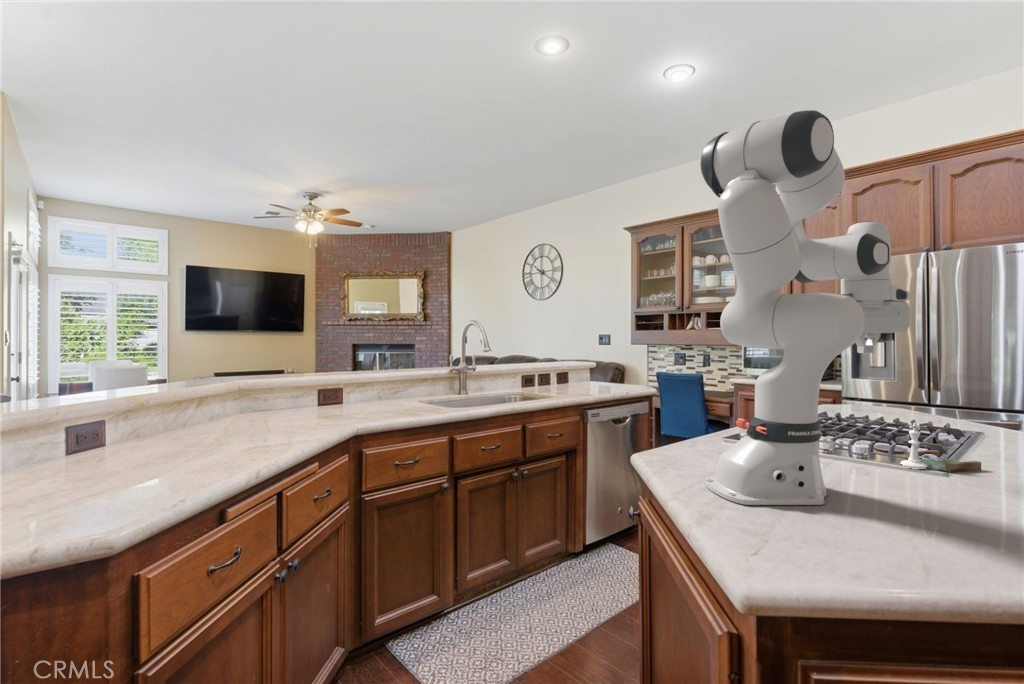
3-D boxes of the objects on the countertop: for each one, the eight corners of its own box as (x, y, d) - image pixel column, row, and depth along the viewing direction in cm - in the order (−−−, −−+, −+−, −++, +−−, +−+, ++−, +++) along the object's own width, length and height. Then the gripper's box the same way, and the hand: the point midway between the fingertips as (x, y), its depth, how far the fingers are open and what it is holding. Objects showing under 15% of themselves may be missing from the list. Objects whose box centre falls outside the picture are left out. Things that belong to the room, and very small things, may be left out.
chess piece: (933, 470, 107) (934, 425, 106) (908, 469, 108) (908, 425, 107) (919, 464, 111) (920, 421, 111) (895, 463, 112) (896, 420, 112)
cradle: (950, 472, 105) (950, 464, 105) (906, 459, 115) (906, 452, 115) (981, 470, 106) (981, 462, 106) (935, 457, 116) (935, 450, 116)
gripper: (839, 293, 107) (838, 355, 108) (916, 292, 111) (915, 352, 112) (816, 294, 114) (816, 353, 114) (890, 294, 117) (889, 351, 118)
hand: (865, 353), depth 113 cm, fingers closed
